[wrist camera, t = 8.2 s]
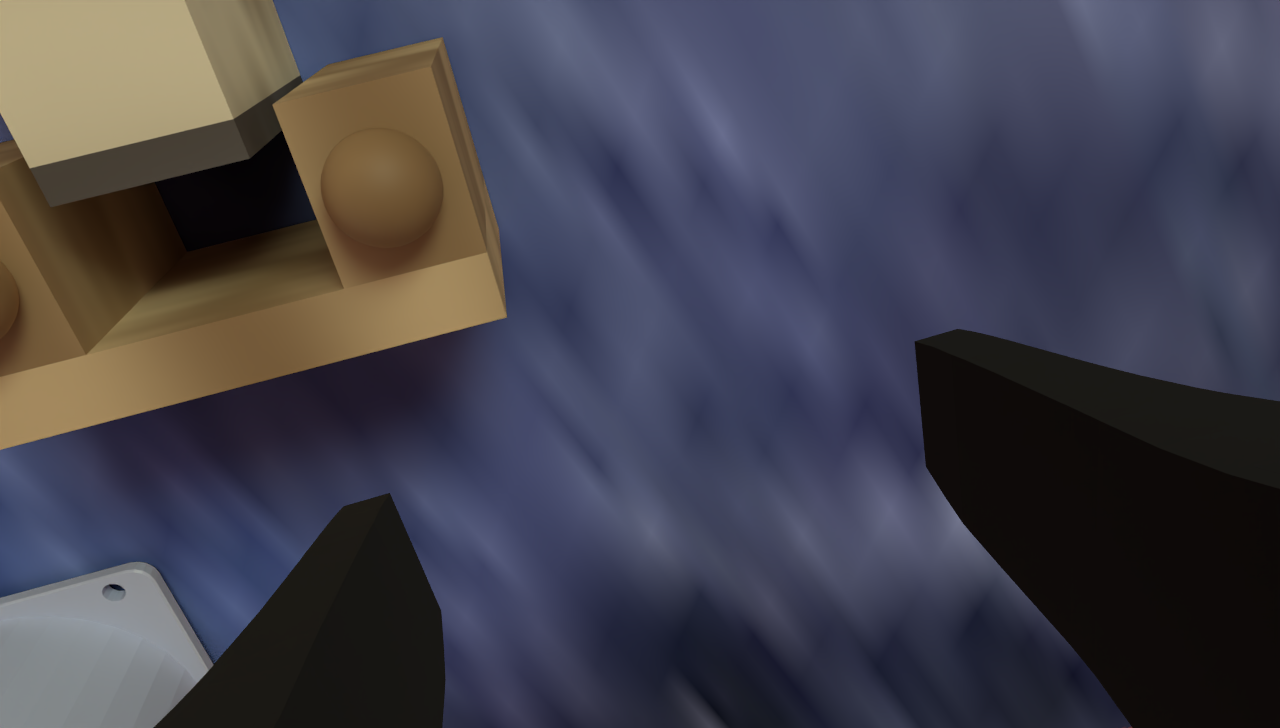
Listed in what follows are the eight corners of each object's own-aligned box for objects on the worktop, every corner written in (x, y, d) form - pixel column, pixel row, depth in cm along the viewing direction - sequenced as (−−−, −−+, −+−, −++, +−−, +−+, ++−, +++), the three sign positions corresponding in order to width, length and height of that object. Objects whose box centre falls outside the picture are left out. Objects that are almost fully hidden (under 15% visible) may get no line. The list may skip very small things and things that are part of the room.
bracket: (102, 329, 19) (-69, 499, 13) (2, 142, 17) (-252, 240, 11) (498, 228, 20) (509, 347, 14) (442, 37, 18) (426, 76, 12)
